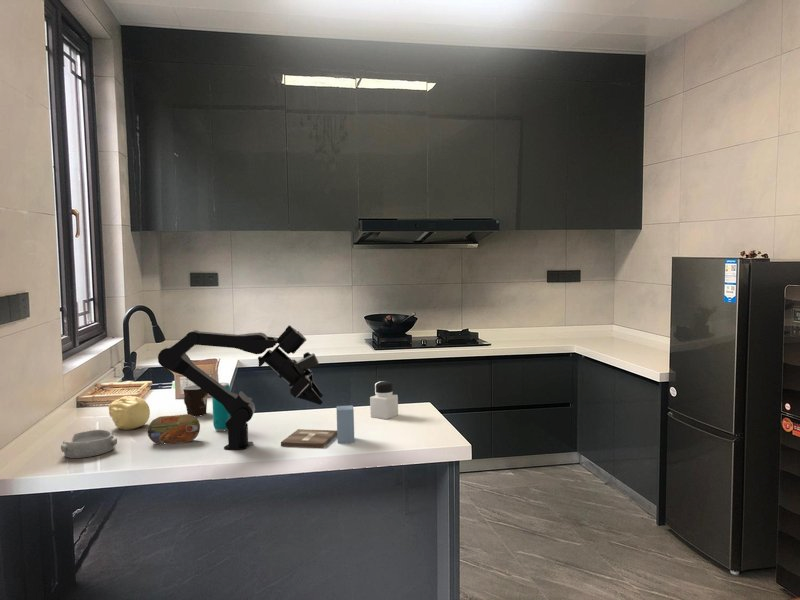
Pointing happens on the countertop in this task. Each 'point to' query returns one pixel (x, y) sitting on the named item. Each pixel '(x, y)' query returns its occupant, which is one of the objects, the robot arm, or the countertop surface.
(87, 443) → the dish
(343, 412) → the slate-blue block
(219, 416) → the beverage can
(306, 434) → the board
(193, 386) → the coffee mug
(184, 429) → the tin
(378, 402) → the medicine bottle
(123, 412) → the sculpture
